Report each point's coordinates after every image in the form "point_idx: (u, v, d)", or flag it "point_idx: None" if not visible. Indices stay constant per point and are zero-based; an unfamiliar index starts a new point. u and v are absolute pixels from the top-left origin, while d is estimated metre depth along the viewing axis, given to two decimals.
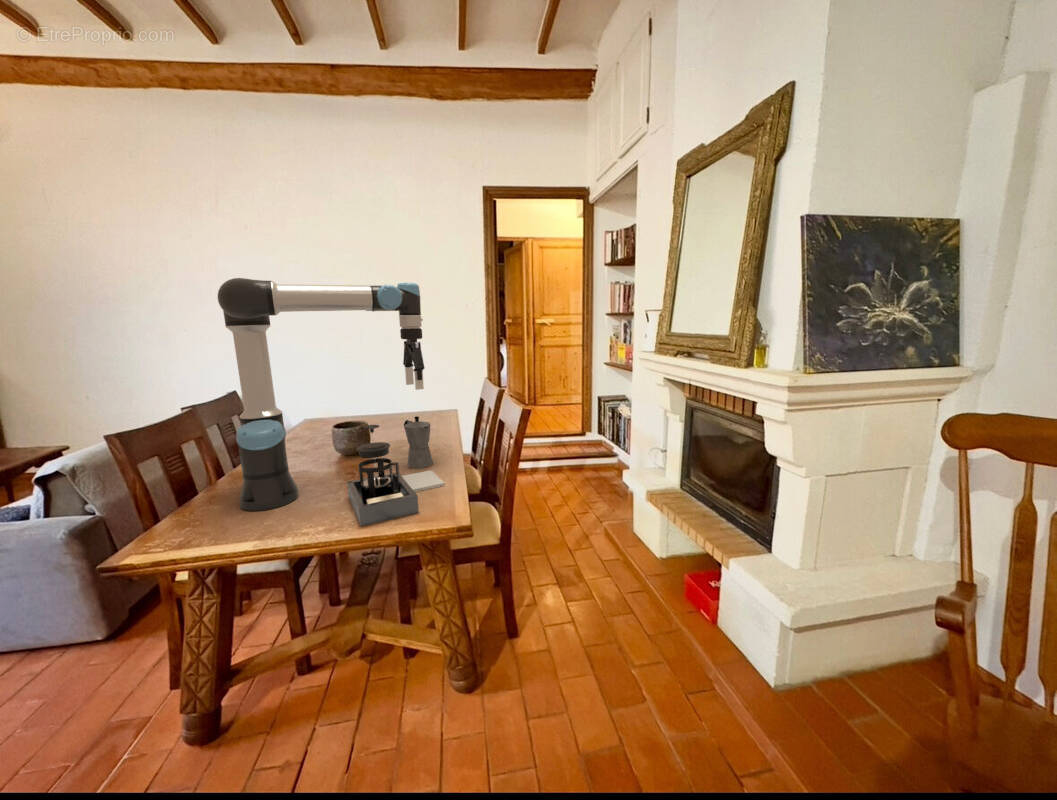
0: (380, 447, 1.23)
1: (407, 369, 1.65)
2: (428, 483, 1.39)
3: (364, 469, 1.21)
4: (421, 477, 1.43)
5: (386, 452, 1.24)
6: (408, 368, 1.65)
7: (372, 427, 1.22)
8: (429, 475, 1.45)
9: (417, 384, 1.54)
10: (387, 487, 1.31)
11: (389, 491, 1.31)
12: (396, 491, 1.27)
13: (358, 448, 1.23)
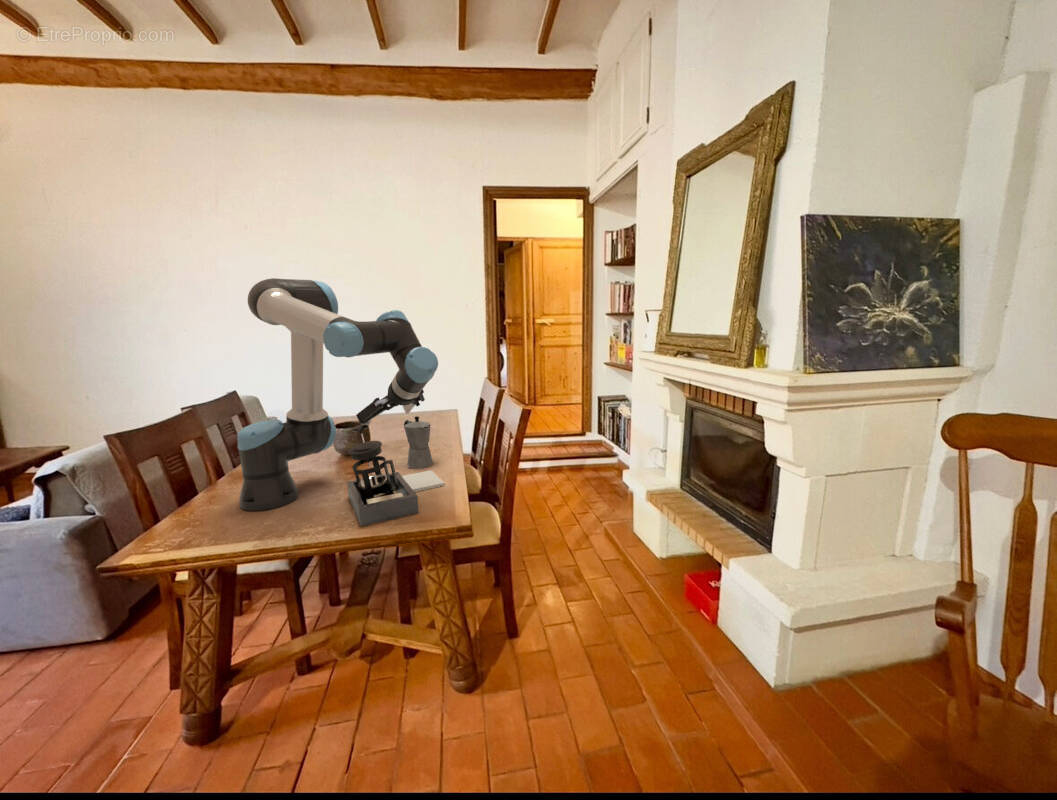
0: (372, 447, 1.21)
1: None
2: (428, 483, 1.39)
3: (358, 471, 1.20)
4: (421, 477, 1.43)
5: (378, 451, 1.22)
6: None
7: (361, 428, 1.19)
8: (429, 475, 1.45)
9: None
10: (386, 484, 1.30)
11: (388, 487, 1.30)
12: (394, 488, 1.26)
13: (350, 450, 1.21)
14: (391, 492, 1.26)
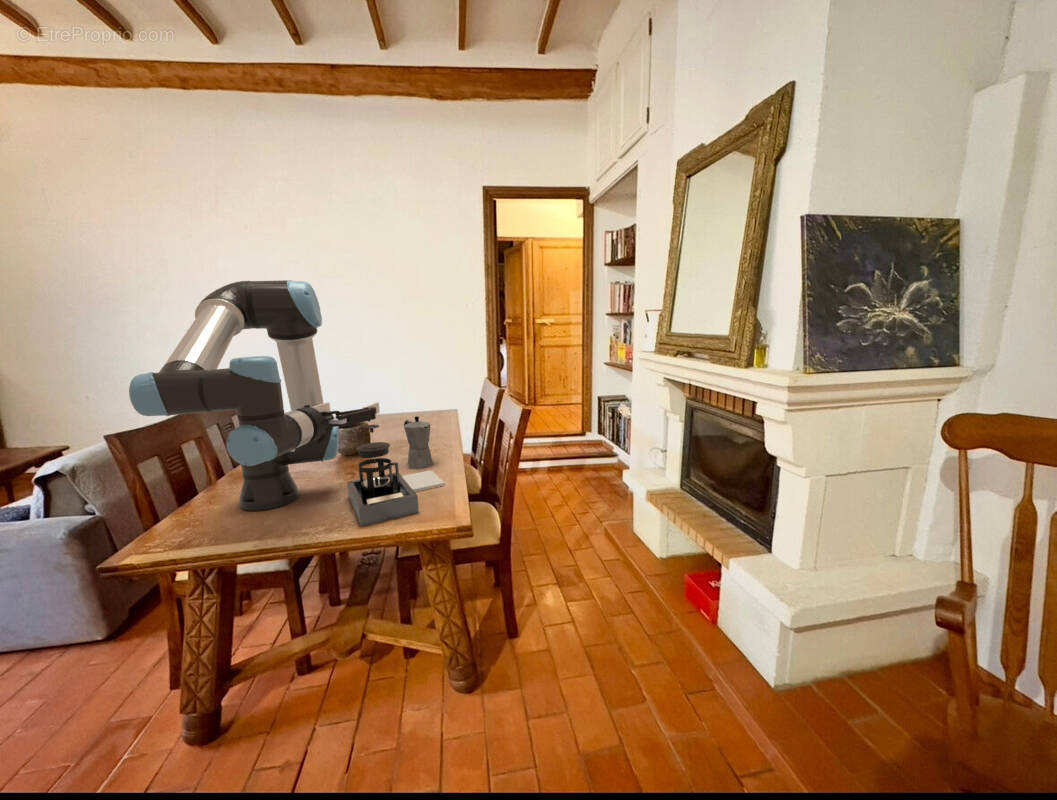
0: (380, 447, 1.23)
1: None
2: (428, 483, 1.39)
3: (363, 469, 1.21)
4: (421, 477, 1.43)
5: (386, 452, 1.24)
6: None
7: (372, 427, 1.22)
8: (429, 475, 1.45)
9: None
10: (387, 487, 1.31)
11: (389, 491, 1.31)
12: (395, 491, 1.27)
13: (358, 448, 1.23)
14: None
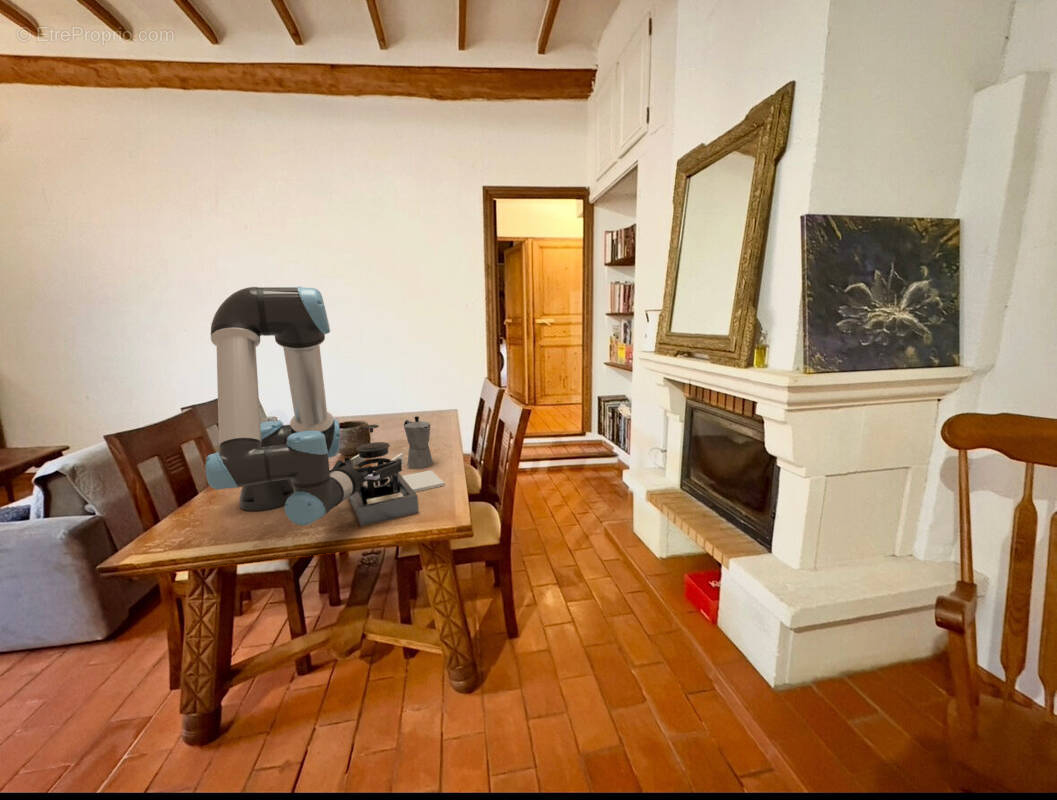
0: (379, 447, 1.23)
1: None
2: (428, 483, 1.39)
3: None
4: (421, 477, 1.43)
5: (385, 452, 1.24)
6: None
7: (371, 427, 1.22)
8: (429, 475, 1.45)
9: None
10: (387, 487, 1.31)
11: (389, 491, 1.31)
12: (395, 491, 1.27)
13: (358, 448, 1.23)
14: None
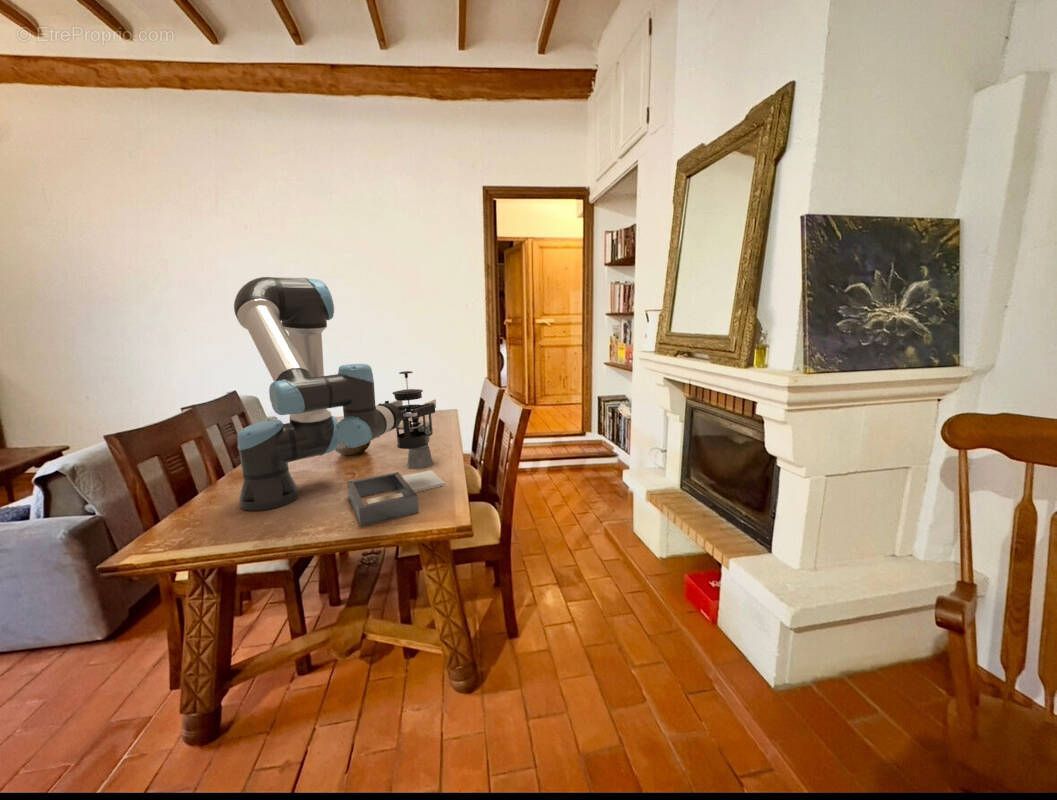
0: (414, 391, 1.32)
1: None
2: (428, 483, 1.39)
3: None
4: (421, 477, 1.43)
5: (419, 396, 1.33)
6: None
7: (406, 372, 1.32)
8: (429, 475, 1.45)
9: None
10: (420, 432, 1.40)
11: (422, 436, 1.40)
12: (428, 434, 1.36)
13: (394, 392, 1.33)
14: (425, 437, 1.36)
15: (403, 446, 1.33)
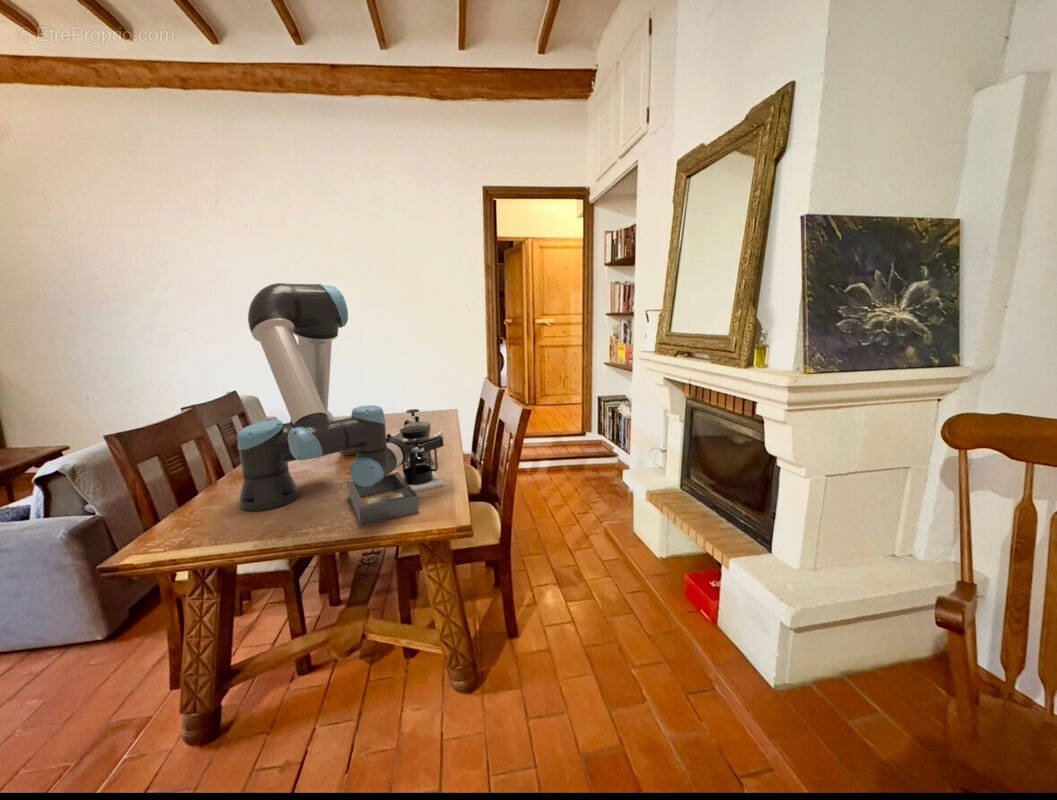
0: (420, 429, 1.37)
1: None
2: (428, 483, 1.39)
3: None
4: None
5: (425, 434, 1.38)
6: None
7: (413, 411, 1.36)
8: None
9: None
10: (425, 466, 1.45)
11: (427, 470, 1.45)
12: (434, 469, 1.41)
13: (401, 430, 1.38)
14: (431, 473, 1.41)
15: (409, 482, 1.38)
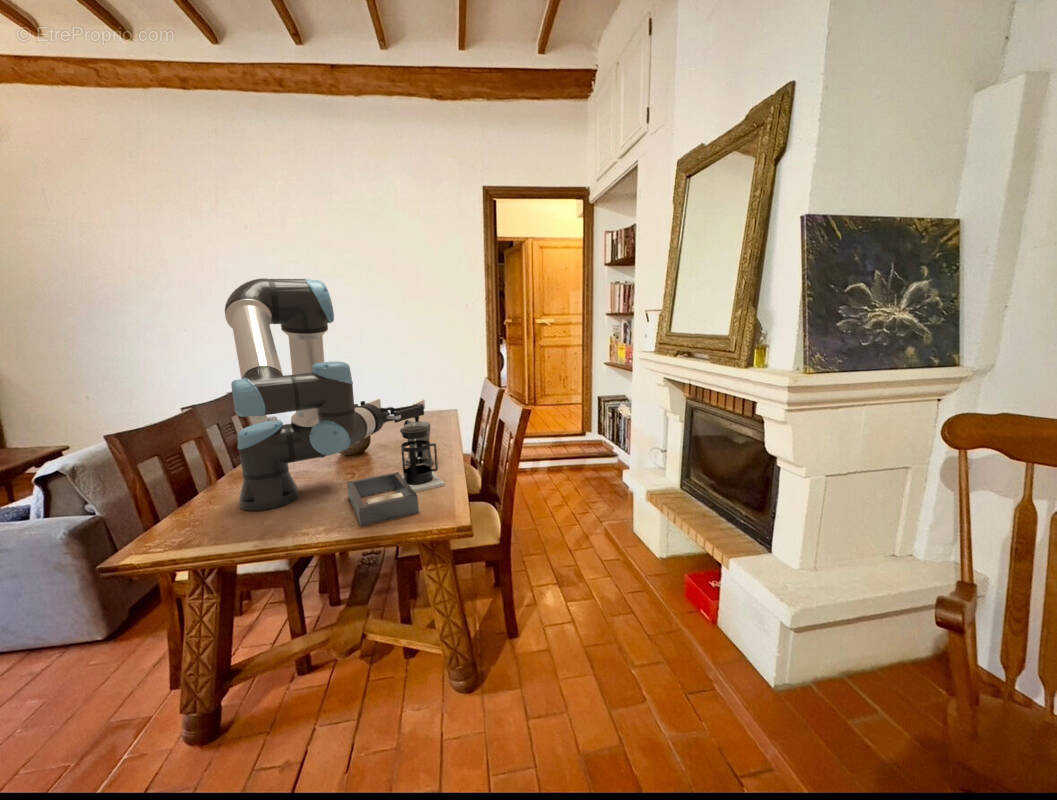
0: (421, 429, 1.37)
1: None
2: (428, 483, 1.39)
3: (407, 449, 1.36)
4: None
5: (426, 434, 1.38)
6: None
7: None
8: None
9: None
10: (425, 466, 1.45)
11: (427, 470, 1.45)
12: (434, 469, 1.41)
13: (401, 430, 1.38)
14: (431, 473, 1.41)
15: (409, 482, 1.38)
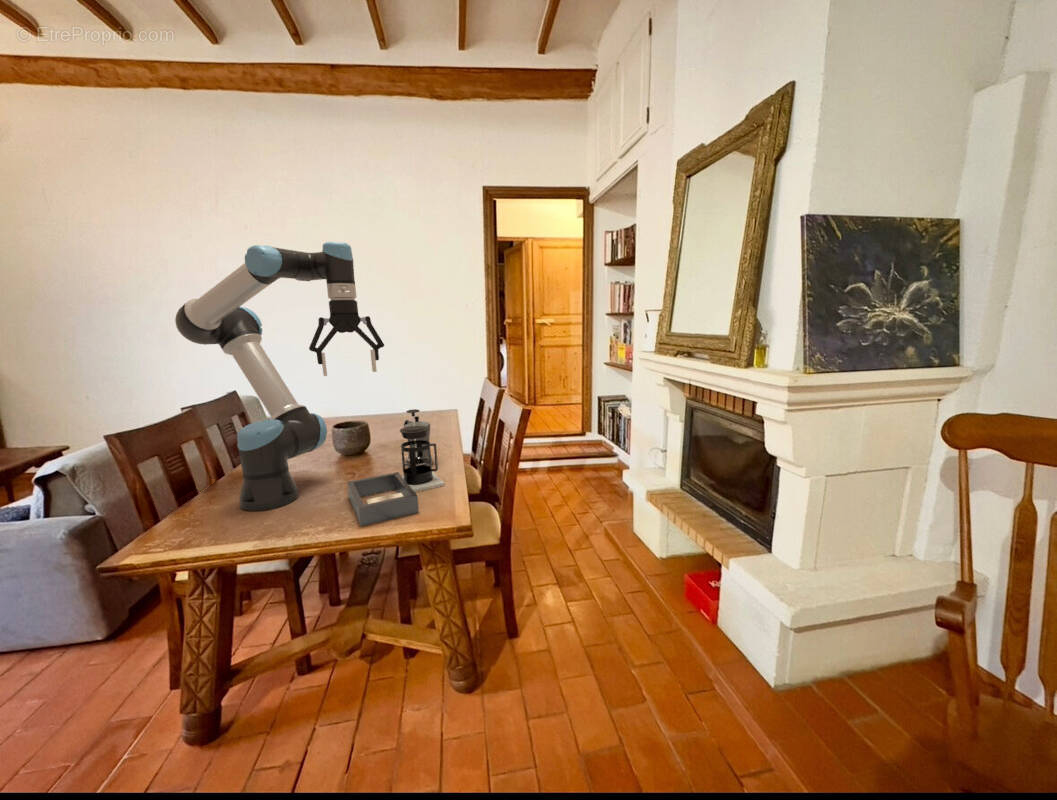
0: (421, 429, 1.37)
1: (371, 352, 1.32)
2: (428, 483, 1.39)
3: (407, 449, 1.36)
4: None
5: (426, 434, 1.38)
6: (371, 351, 1.32)
7: (414, 411, 1.36)
8: None
9: None
10: (425, 466, 1.45)
11: (427, 470, 1.45)
12: (434, 469, 1.41)
13: (401, 430, 1.38)
14: (431, 473, 1.41)
15: (409, 482, 1.38)
